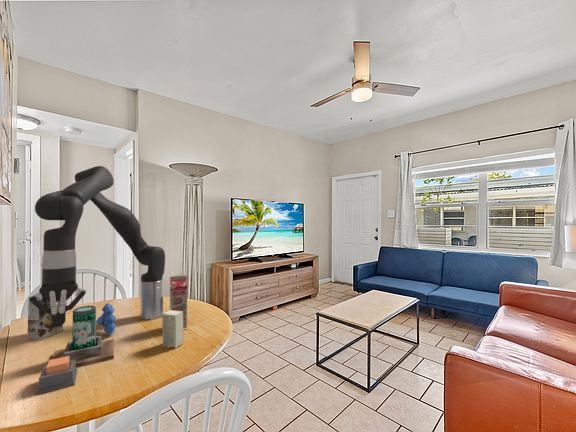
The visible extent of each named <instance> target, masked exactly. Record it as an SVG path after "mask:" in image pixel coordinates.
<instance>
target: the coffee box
mask: <svg viewBox="0 0 576 432" xmlns="http://www.w3.org/2000/svg"><path fill="white" fill-rule="evenodd" d="M41 296H42V295H41ZM30 297H31V296H28V302H27V303H28V304H27V305H28V307H27V308H28V309H27V310H28V311H27V336H26V337H27V338H26V339H28V338H29V340H36V341H41V340H44V339H46V338H48V337H51V336H53V335H55V334H56V335H57V334H59V333H61V332H63V331H64V324H62V326H61V327H55V325H54V326H53V325H52V314H50V313H46V314H45V313H43V312H42V311H41V310H40V309H38V308H37V307H36V306H35V305H34V304H33V303H31V302H30V301H29V299H30ZM41 300H42V301H43V302H44V303H46V304H47V305H48V306H49V307H51V305H50V302H49V301H48V300H46V299H45V298H44V297H43V296H42V299H41ZM59 310H60V301H58V312H59Z"/></svg>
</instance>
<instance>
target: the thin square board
mask: <svg viewBox="0 0 576 432" xmlns="http://www.w3.org/2000/svg"><path fill="white" fill-rule="evenodd" d="M114 347H115V346H114V339H108V340H103V341H102V335H96V346H94V347H89V348H84V349H79V350H74V351H72V341H68V342H67V343H66V346H65V348H62V349H58V350H54V352H53V355H52V357H51V358H50V360H52V359H57V358H62V357H66V356H70V361H71V360H75V359H76V367H75V369H76V368H79V367H83V366H88V365H92V364H93V365H94V364H97V363H100V362H102V363H103V362H105V361H110V360H114V359H115V350H114V349H115V348H114Z"/></svg>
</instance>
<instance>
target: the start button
mask: <svg viewBox="0 0 576 432" xmlns="http://www.w3.org/2000/svg"><path fill="white" fill-rule="evenodd" d="M51 359H52V358H51ZM51 359H49V360H48V362H47V365H46V366H47V367H46V375H50V374H54V373H58V372H63V371H67V370H69V366H70V356H66V357H62V358H57V359H52V360H51Z"/></svg>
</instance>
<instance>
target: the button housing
mask: <svg viewBox="0 0 576 432" xmlns="http://www.w3.org/2000/svg"><path fill="white" fill-rule="evenodd" d="M46 367H47V365H44V366H43V368H42V371H41V372H40V375H39V377H38V387H37V389H36V395H42V394H45V393H49V392H52V391H57V390H62V389H64V388H65V389H66V388H69V387H73V386H75V384H76V380H77V375H78V367H76V359H75V360H71V361H70V366H69V370H67V371H63V372H58V373H54V374H50V375H46ZM75 367H76V368H75Z"/></svg>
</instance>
